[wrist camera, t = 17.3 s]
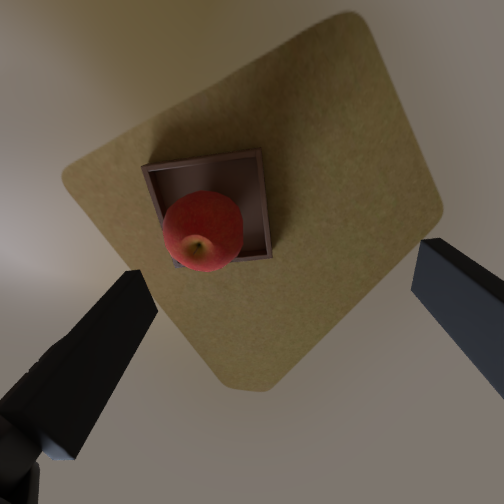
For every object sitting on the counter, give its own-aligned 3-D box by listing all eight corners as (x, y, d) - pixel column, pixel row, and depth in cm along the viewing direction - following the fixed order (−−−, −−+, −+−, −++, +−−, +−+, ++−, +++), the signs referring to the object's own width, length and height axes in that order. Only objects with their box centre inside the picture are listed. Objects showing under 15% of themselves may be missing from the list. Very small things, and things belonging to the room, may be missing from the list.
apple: (168, 208, 38) (125, 250, 26) (213, 163, 34) (187, 188, 22) (215, 252, 41) (197, 307, 29) (260, 215, 38) (260, 261, 26)
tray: (261, 147, 34) (261, 149, 31) (272, 251, 41) (272, 258, 39) (147, 163, 35) (140, 166, 33) (179, 260, 43) (175, 268, 41)
